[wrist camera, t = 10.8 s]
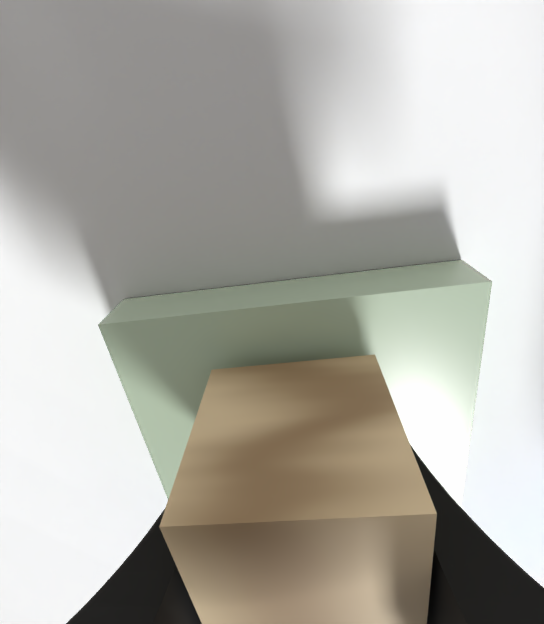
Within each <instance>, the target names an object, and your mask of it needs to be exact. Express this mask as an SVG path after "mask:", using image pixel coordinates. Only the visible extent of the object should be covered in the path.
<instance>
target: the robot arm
mask: <svg viewBox="0 0 544 624" xmlns="http://www.w3.org/2000/svg"><path fill="white" fill-rule="evenodd" d="M410 446H411V445H410ZM411 448H412V451H413V453H414V456H415V459H416V461H417V464H418V466H419V469H420V471H421V474H422V477H423V479H424V482H425V484H426V487H427V489H428V492H429V495H430V497H431V500H432V502H433V505H434V507H435V510H436V513H437V519H436V530H435V541H434V551H433V562H432V573H431V584H430V595H429V606H428V616H427V624H544V588H543V587H542V586H541V585H540V584H539V583H537V582H536V581H535V580H534V579H533V578H532V577H530V576H529V575H528V574H527V573H526V572H525V571H524V570H523V569H522V568H521V567H520V566H518V565H517V564H516V563H515V562H514V561H513V560H512V559H511V558H510V557H509V556H508V555H507V554H506V553H505V552H504V551H503V550H502V549H500V548H499V547H498V546H497V545H496V544H495V543H494V542H493V541H492V540H491V539H490V538H489V537H488V536H487V535H486V534H485V533H484V532H483V531H482V530H481V529H480V527H479V526H478V525H477V524H476V523H475V522H474V521H473V520H472V519H471V518H470V517H469V516H468V515H467V514H466V512H465V511H464V510H463V509H462V508H461V507H460V506H459V505H458V504H457V503H456V501H455V500H454V499H453V498H452V497H451V496H450V494H449V493H448V492H447V491H446V490H445V488H444V487H443V486H442V485H441V484H440V482H439V481H438V480H437V479H436V478H435V476H434V475H433V474H432V473H431V471H430V470H429V469H428V468H427V466H426V465H425V464H424V462H423V461H422V460H421V458H420V457H419V456H418V454H417V453H416V452H415V450H414V449H413V447H412V446H411ZM164 511H165V509H164ZM164 511H163V512H162V514H161V515H160V516H159V518H158V519H157V520H156V522H155V523H154V525H153V526H152V527H151V529H150V530H149V531H148V533H147V534H146V535H145V537H144V538H143V539H142V541H141V542H140V543H139V544H138V546H137V547H136V548H135V549H134V551H133V552H132V553H131V554H130V555H129V557H128V558H127V559H126V560H125V561H124V563H123V564H122V565H121V566H120V567H119V569H118V570H117V571H116V572H115V573H114V574H113V575H112V576H111V577H110V579H109V580H108V581H107V582H106V583H105V584H104V585H103V586H102V588H101V589H100V590H99V591H98V592H97V593H96V594H95V595H94V596H93V597H92V598H91V599H90V600H89V601H88V603H87V604H86V605H85V606H84V607H83V608H82V609H81V610H80V611H79V612H78V613H77V614H76V615H75V616H73V617H72V618H71V619H70V620H69V621H68V622H67V623H66V624H202V623H201V621H200V618H199V616H198V614H197V612H196V609H195V607H194V605H193V603H192V600H191V598H190V596H189V593H188V591H187V589H186V587H185V584H184V582H183V580H182V577H181V575H180V573H179V571H178V568H177V566H176V564H175V562H174V559H173V557H172V555H171V552H170V550H169V548H168V546H167V543H166V541H165V539H164V537H163V534H162V532H161V530H160V527H159V526H160V523H161V520H162V517H163V514H164Z"/></svg>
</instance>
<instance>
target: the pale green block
mask: <svg viewBox="0 0 544 624" xmlns="http://www.w3.org/2000/svg"><path fill="white" fill-rule="evenodd" d="M491 286H492V281H491V280H489V279H488V278H487V277H485V276H484V275H482V274H481V273H480V272H478V271H477V270H475V269H474V268H473V267H471V266H470V265H468V264H467V263H466V262H464V261H463V260H455V261H447V262H438V263H429V264H421V265H412V266H404V267H395V268H386V269H378V270H369V271H361V272H352V273H343V274H335V275H326V276H318V277H309V278H301V279H292V280H283V281H275V282H266V283H258V284H249V285H240V286H232V287H223V288H215V289H206V290H198V291H189V292H180V293H172V294H163V295H155V296H146V297H137V298H129V299H124V300H123V301H122V302H121V303H119V304H118V305H117V306H116V307H115V308H114V309H113V310H112V311H111V312H110V313H109V314H108V315H107V316H106V317H105V318H104V319H103V320H102V321H101V322H100V323H99V324H98V326H99V328H100V331H101V333H102V336H103V338H104V341H105V343H106V346H107V348H108V351H109V353H110V356H111V358H112V361H113V363H114V366H115V368H116V371H117V373H118V376H119V378H120V381H121V383H122V386H123V388H124V390H125V393H126V395H127V398H128V400H129V403H130V405H131V408H132V410H133V413H134V415H135V418H136V420H137V423H138V425H139V428H140V430H141V433H142V435H143V438H144V440H145V443H146V445H147V448H148V450H149V453H150V455H151V458H152V460H153V463H154V465H155V468H156V470H157V473H158V475H159V478H160V480H161V483H162V485H163V488H164V490H165V493H166V495H167V498H168V499H169V496H170V493H171V490H172V487H173V484H174V481H175V478H176V475H177V472H178V469H179V466H180V463H181V460H182V457H183V454H184V451H185V448H186V445H187V442H188V439H189V436H190V433H191V430H192V427H193V424H194V421H195V418H196V415H197V412H198V409H199V406H200V403H201V400H202V397H203V394H204V391H205V388H206V385H207V382H208V379H209V376H210V373H211V370H213V369H224V368H235V367H246V366H256V365H267V364H278V363H289V362H299V361H310V360H321V359H332V358H343V357H353V356H364V355H375V356H376V359H377V361H378V364H379V366H380V369H381V371H382V374H383V376H384V379H385V382H386V384H387V387H388V389H389V392H390V394H391V397H392V400H393V402H394V405H395V407H396V410H397V412H398V415H399V418H400V420H401V423H402V425H403V428H404V430H405V433H406V436H407V438H408V441H409V443H410V445H411V446H412V447H413V449H414V450H415V452H416V453H417V454H418V456H419V457H420V458H421V460H422V461H423V462H424V464H425V465H426V466H427V468H428V469H429V470H430V471H431V473H432V474H433V475H434V476H435V478H436V479H437V480H438V481H439V482H440V484H441V485H442V486H443V487H444V488H445V490H446V491H447V492H448V493H449V494H450V496H451V497H452V498H453V499H454V500H455V501H456V503H457V504H458V505H459V506H460V507H461V504H462V497H463V490H464V482H465V475H466V468H467V460H468V453H469V446H470V439H471V431H472V424H473V417H474V409H475V402H476V395H477V388H478V380H479V373H480V366H481V358H482V351H483V344H484V337H485V329H486V322H487V315H488V307H489V300H490V293H491Z"/></svg>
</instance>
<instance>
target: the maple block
mask: <svg viewBox="0 0 544 624" xmlns="http://www.w3.org/2000/svg"><path fill="white" fill-rule="evenodd" d="M436 519H437V513H436V510H435V507H434V505H433V502H432V500H431V497H430V495H429V492H428V489H427V487H426V484H425V482H424V479H423V477H422V474H421V471H420V469H419V466H418V464H417V461H416V459H415V456H414V453H413V451H412V448H411V446H410V443H409V441H408V438H407V436H406V433H405V430H404V428H403V425H402V423H401V420H400V418H399V415H398V412H397V410H396V407H395V405H394V402H393V400H392V397H391V394H390V392H389V389H388V387H387V384H386V382H385V379H384V376H383V374H382V371H381V369H380V366H379V364H378V361H377V359H376V356H375V355H364V356H353V357H343V358H332V359H321V360H310V361H299V362H289V363H278V364H267V365H256V366H246V367H235V368H224V369H213V370H211V373H210V376H209V379H208V382H207V385H206V388H205V391H204V394H203V397H202V400H201V403H200V406H199V409H198V412H197V415H196V418H195V421H194V424H193V427H192V430H191V433H190V436H189V439H188V442H187V445H186V448H185V451H184V454H183V457H182V460H181V463H180V466H179V469H178V472H177V475H176V478H175V481H174V484H173V487H172V490H171V493H170V496H169V499H168V502H167V505H166V508H165V511H164V514H163V517H162V520H161V523H160V526H159V527H160V530H161V532H162V534H163V537H164V539H165V541H166V543H167V546H168V548H169V550H170V552H171V555H172V557H173V559H174V562H175V564H176V566H177V568H178V571H179V573H180V575H181V577H182V580H183V582H184V584H185V587H186V589H187V591H188V593H189V596H190V598H191V600H192V603H193V605H194V607H195V609H196V612H197V614H198V616H199V618H200V621H201V623H202V624H427V616H428V606H429V595H430V584H431V573H432V562H433V551H434V541H435V530H436Z"/></svg>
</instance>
